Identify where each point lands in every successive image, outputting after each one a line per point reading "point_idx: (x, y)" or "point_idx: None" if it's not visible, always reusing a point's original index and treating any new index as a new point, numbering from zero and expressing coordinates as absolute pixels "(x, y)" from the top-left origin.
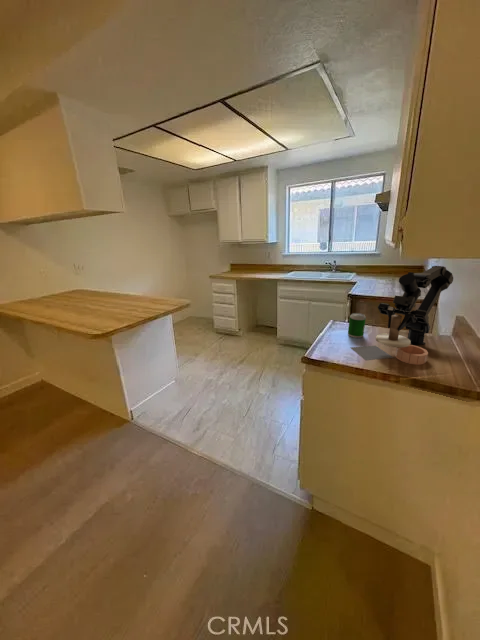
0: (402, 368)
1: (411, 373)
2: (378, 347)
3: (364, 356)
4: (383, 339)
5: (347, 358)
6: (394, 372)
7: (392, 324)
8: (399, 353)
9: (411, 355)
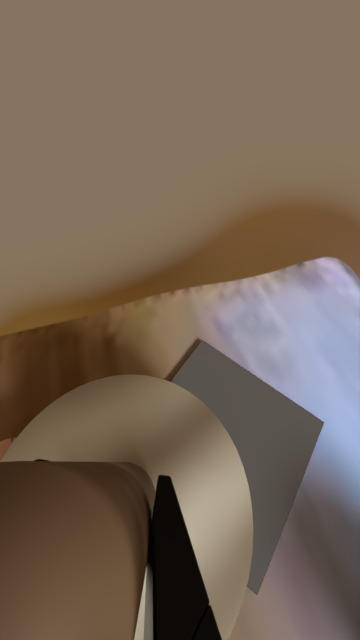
0: (65, 380)
1: (31, 360)
2: None
3: (221, 370)
4: (177, 436)
5: (260, 323)
6: (89, 328)
7: (107, 465)
8: None
9: (7, 440)
